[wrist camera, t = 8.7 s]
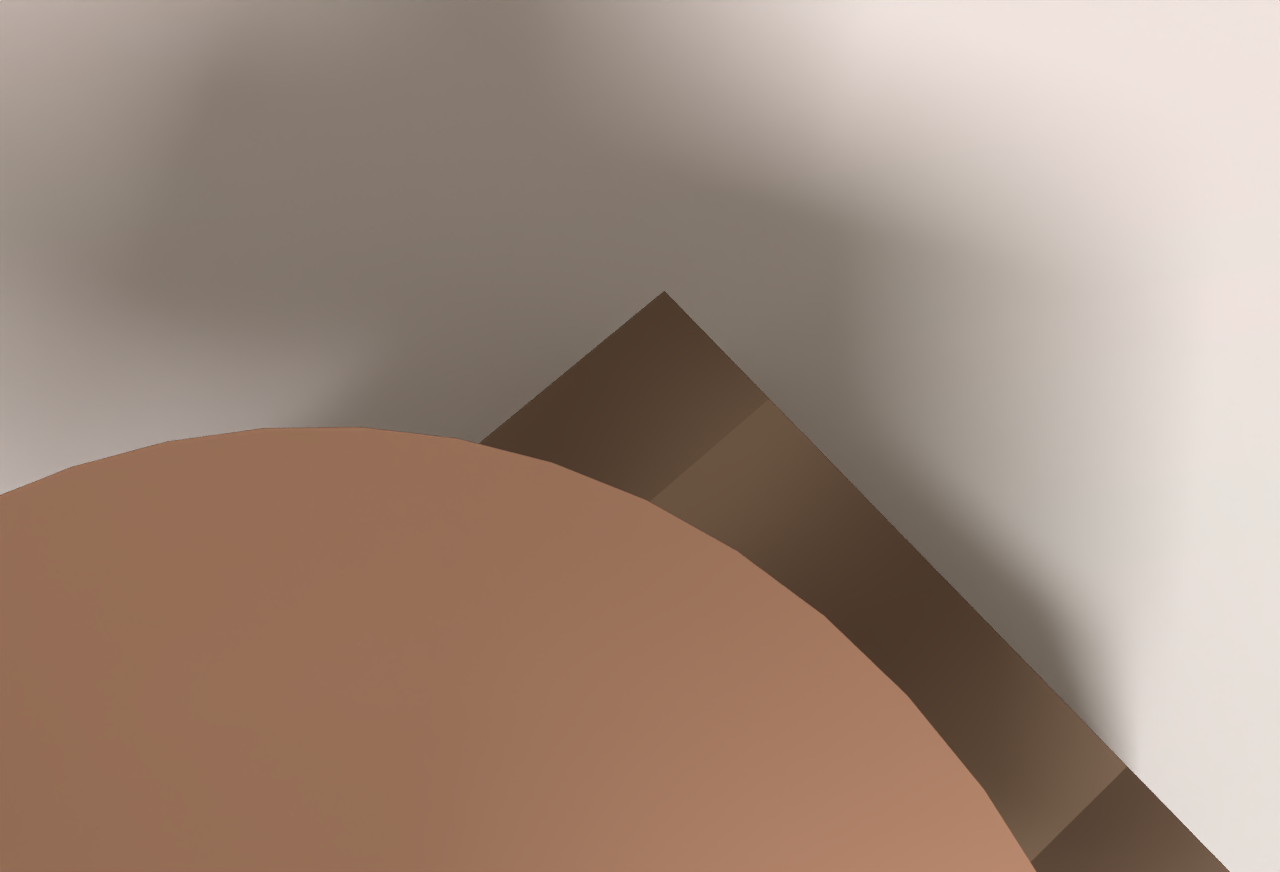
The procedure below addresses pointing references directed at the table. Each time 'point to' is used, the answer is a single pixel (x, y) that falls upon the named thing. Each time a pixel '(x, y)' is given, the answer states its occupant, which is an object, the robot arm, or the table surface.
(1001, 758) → the socket
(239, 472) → the peg
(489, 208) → the table surface
